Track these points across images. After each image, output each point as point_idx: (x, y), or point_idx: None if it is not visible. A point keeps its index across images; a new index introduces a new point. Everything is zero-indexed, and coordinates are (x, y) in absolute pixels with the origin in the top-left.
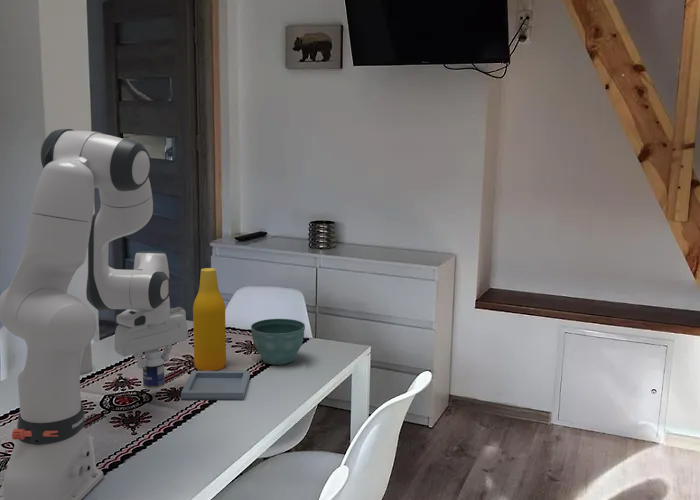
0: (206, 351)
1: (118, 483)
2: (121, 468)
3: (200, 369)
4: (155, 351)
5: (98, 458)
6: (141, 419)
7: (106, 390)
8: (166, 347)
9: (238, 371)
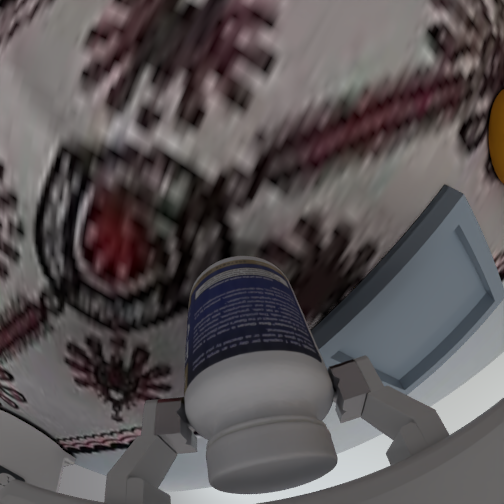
0: None
1: (93, 465)
2: (95, 456)
3: (490, 146)
4: (283, 482)
5: (62, 433)
6: (140, 388)
7: (80, 90)
8: (390, 452)
9: (499, 285)
